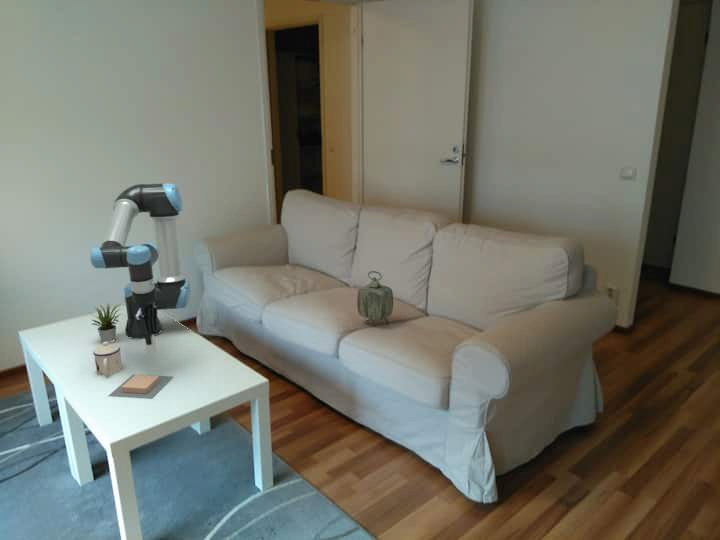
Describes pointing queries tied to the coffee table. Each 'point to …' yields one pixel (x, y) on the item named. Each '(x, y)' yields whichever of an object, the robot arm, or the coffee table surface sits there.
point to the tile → (140, 384)
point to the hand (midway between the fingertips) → (151, 351)
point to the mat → (150, 395)
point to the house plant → (106, 324)
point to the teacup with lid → (107, 359)
